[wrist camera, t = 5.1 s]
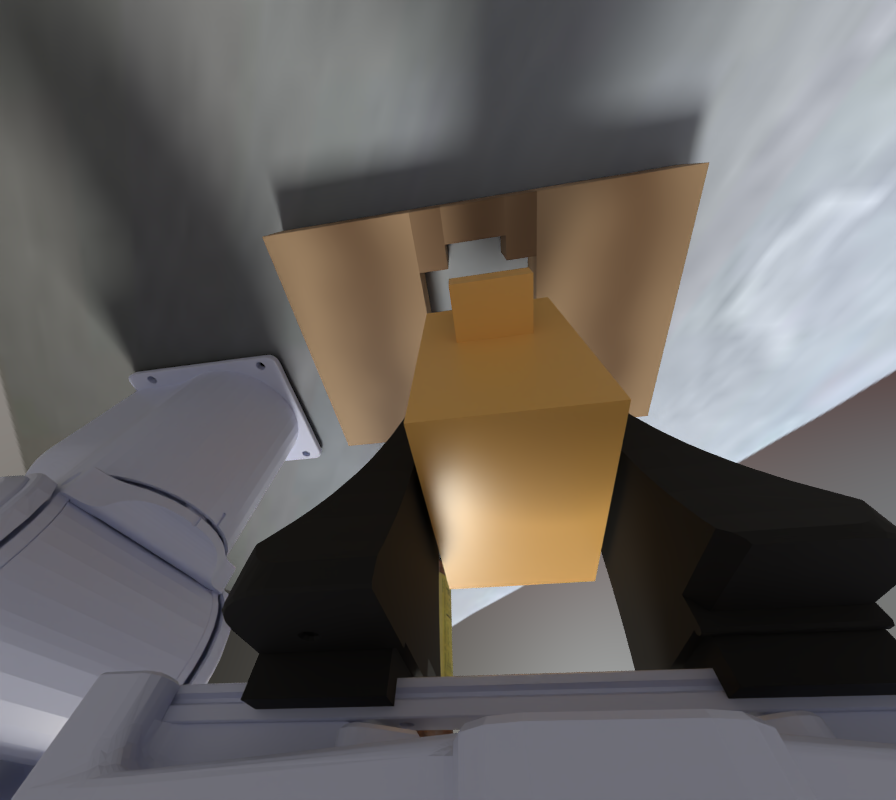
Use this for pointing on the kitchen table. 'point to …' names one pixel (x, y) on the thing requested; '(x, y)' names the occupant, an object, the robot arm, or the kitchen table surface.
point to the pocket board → (522, 235)
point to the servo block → (513, 436)
